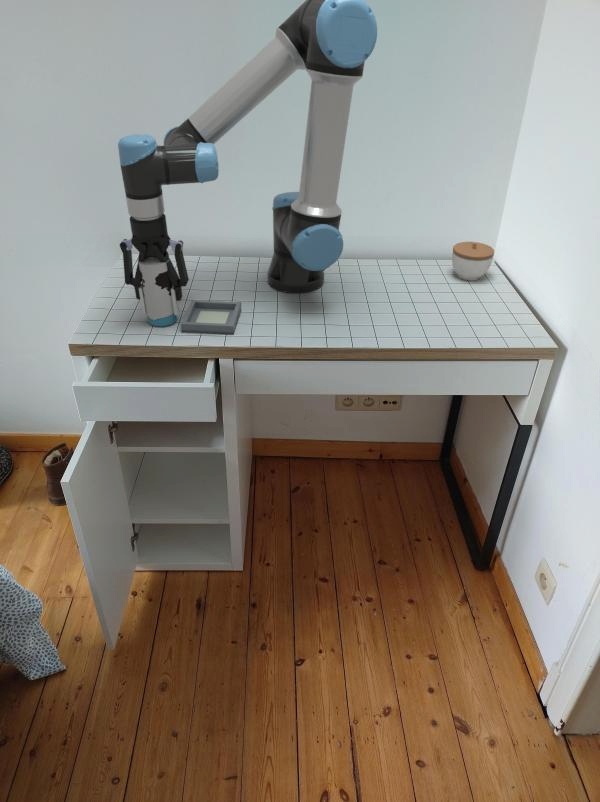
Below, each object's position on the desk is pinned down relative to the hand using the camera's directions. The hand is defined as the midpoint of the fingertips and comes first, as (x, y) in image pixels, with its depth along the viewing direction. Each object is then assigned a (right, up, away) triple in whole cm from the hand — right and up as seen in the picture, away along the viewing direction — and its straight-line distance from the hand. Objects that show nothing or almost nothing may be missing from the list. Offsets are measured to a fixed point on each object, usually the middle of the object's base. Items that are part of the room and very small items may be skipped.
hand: (161, 311), depth 142 cm
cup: (0, -2, +1) cm, 2 cm away
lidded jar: (+79, +13, +24) cm, 84 cm away
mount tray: (+12, -2, +2) cm, 12 cm away
